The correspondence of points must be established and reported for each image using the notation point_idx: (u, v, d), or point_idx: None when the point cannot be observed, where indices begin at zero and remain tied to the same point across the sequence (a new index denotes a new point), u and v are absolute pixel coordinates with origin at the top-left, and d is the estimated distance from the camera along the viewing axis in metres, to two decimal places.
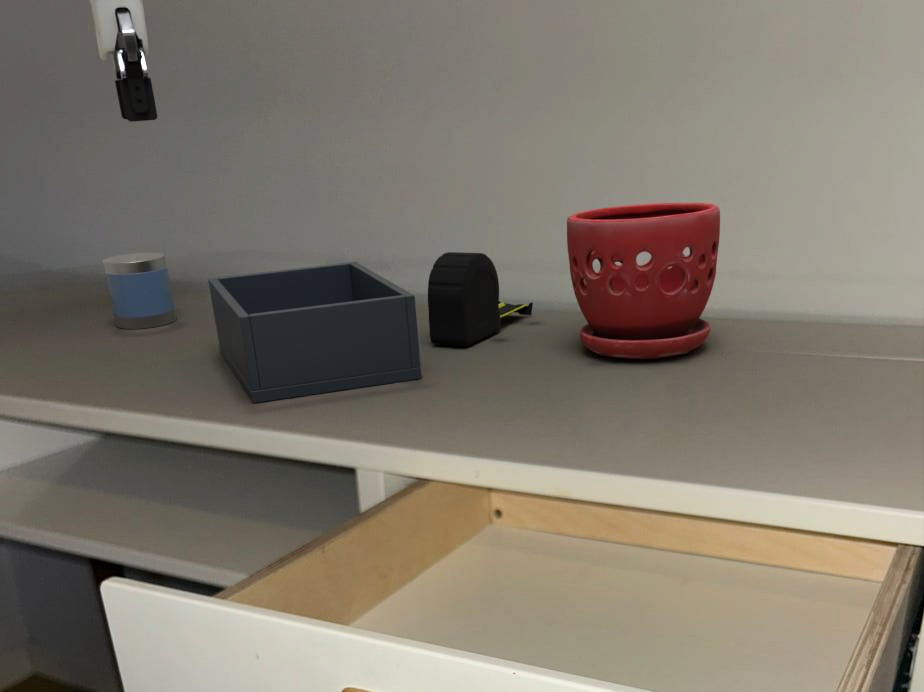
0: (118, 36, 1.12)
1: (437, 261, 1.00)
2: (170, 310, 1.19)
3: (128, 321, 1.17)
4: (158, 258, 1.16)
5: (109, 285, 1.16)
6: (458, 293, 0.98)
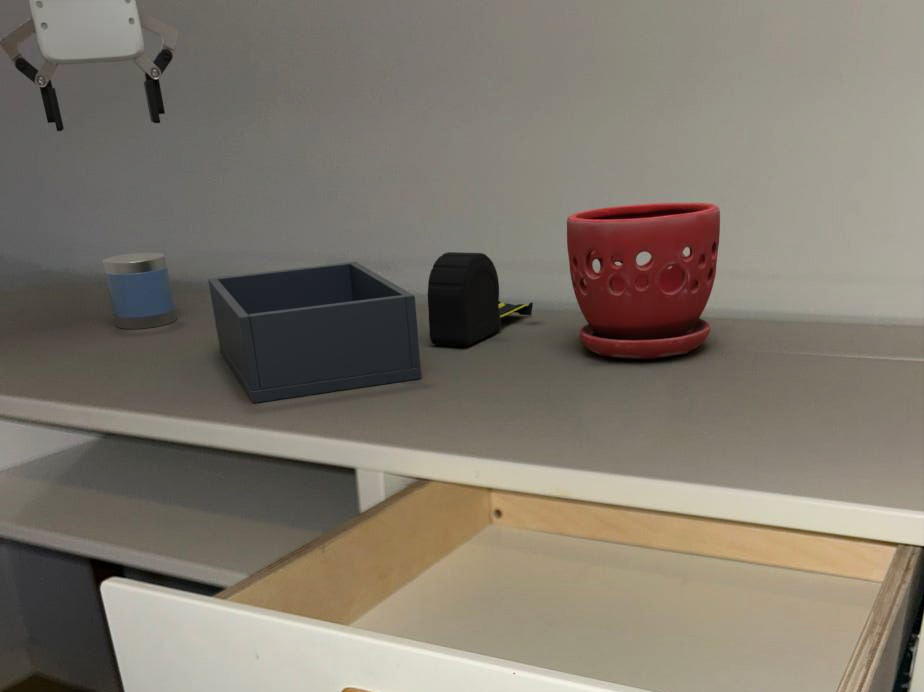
0: None
1: (437, 261, 1.00)
2: (170, 310, 1.19)
3: (128, 321, 1.17)
4: (158, 258, 1.16)
5: (109, 285, 1.16)
6: (458, 293, 0.98)
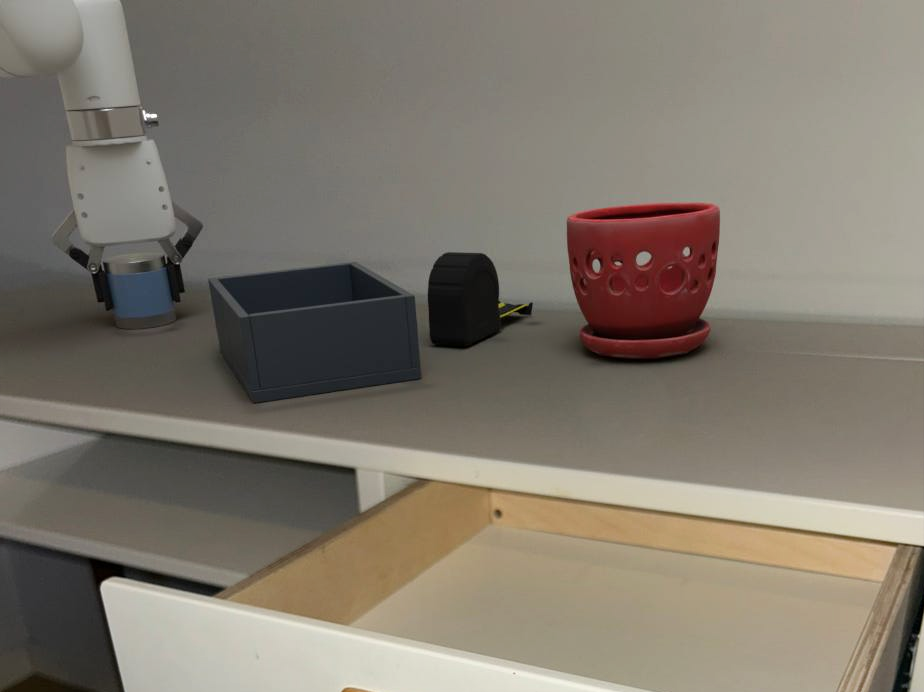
0: None
1: (437, 261, 1.00)
2: (170, 310, 1.19)
3: (128, 321, 1.17)
4: (158, 258, 1.16)
5: (109, 285, 1.16)
6: (458, 293, 0.98)
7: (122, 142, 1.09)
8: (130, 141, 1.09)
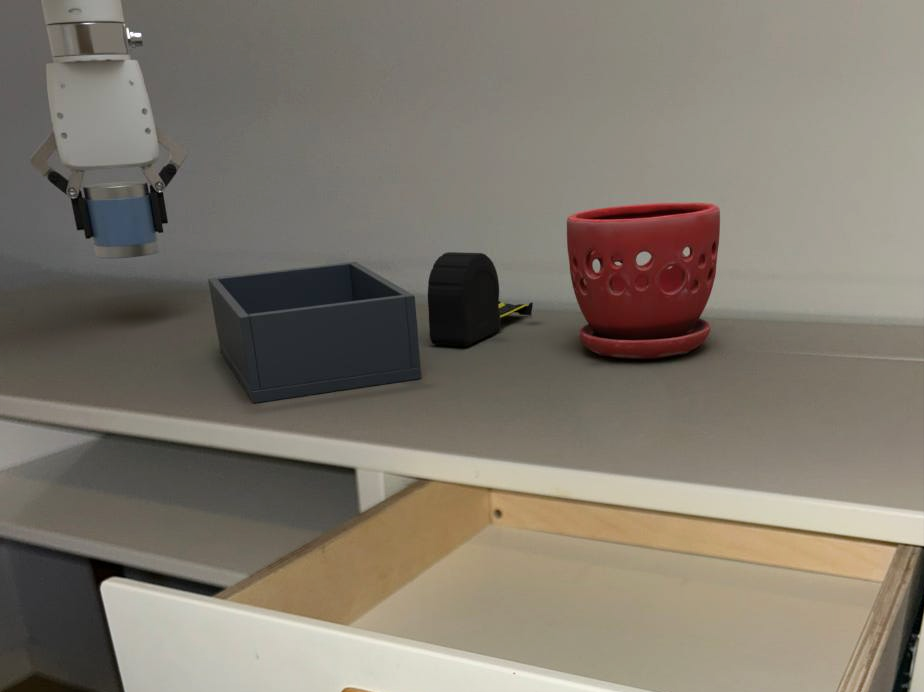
0: None
1: (437, 261, 1.00)
2: (152, 240, 1.15)
3: (108, 249, 1.13)
4: (140, 185, 1.12)
5: (89, 212, 1.13)
6: (458, 293, 0.98)
7: (104, 59, 1.05)
8: (112, 58, 1.06)
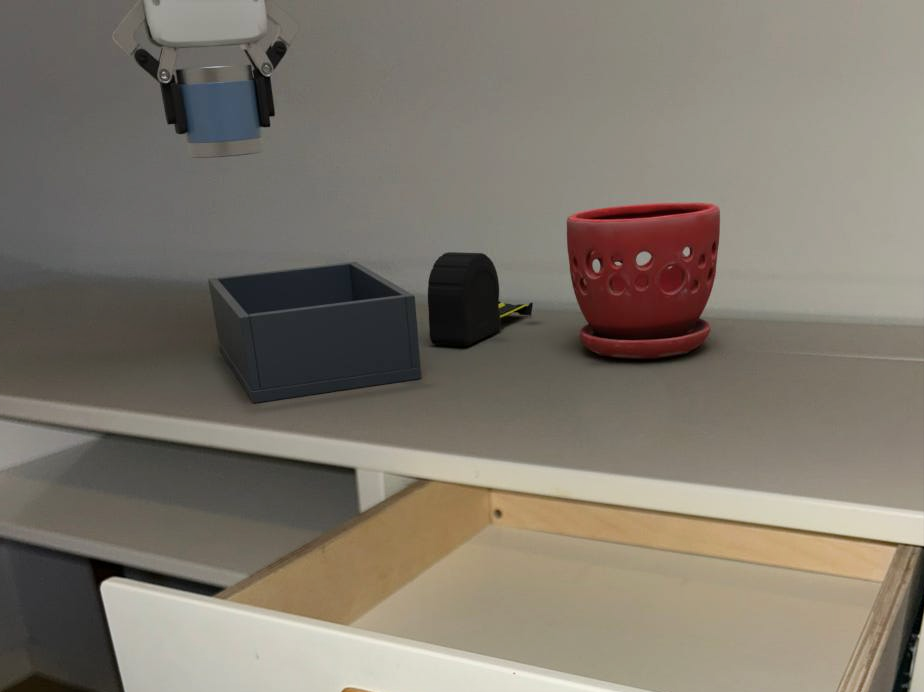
0: None
1: (437, 261, 1.00)
2: (257, 136, 0.96)
3: (207, 146, 0.94)
4: (245, 65, 0.93)
5: (183, 100, 0.93)
6: (458, 293, 0.98)
7: None
8: None
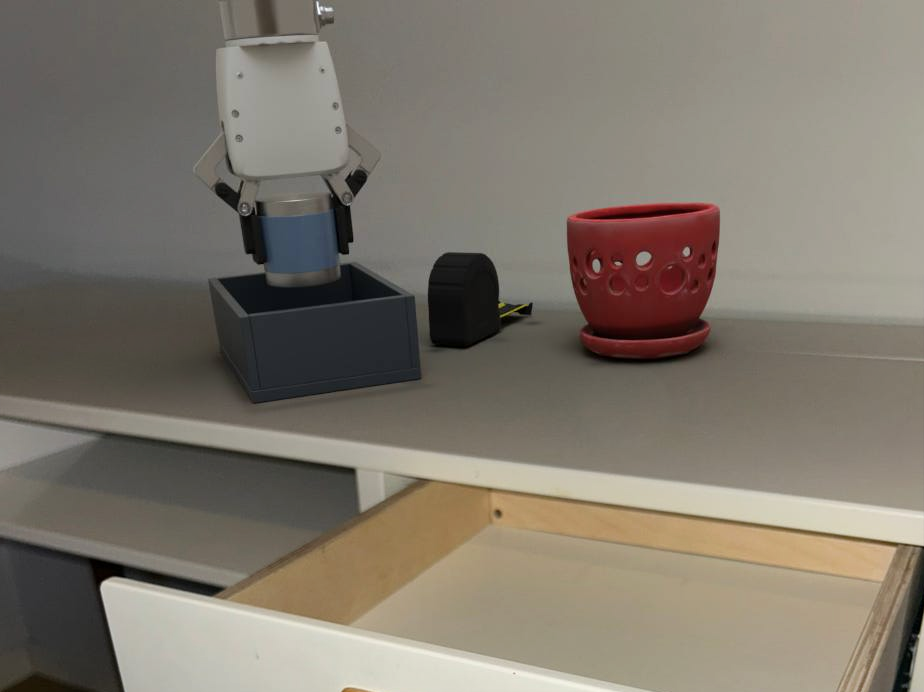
0: None
1: (437, 261, 1.00)
2: (336, 264, 0.94)
3: (286, 277, 0.92)
4: (326, 196, 0.91)
5: (263, 231, 0.91)
6: (458, 293, 0.98)
7: (293, 40, 0.84)
8: (303, 40, 0.84)
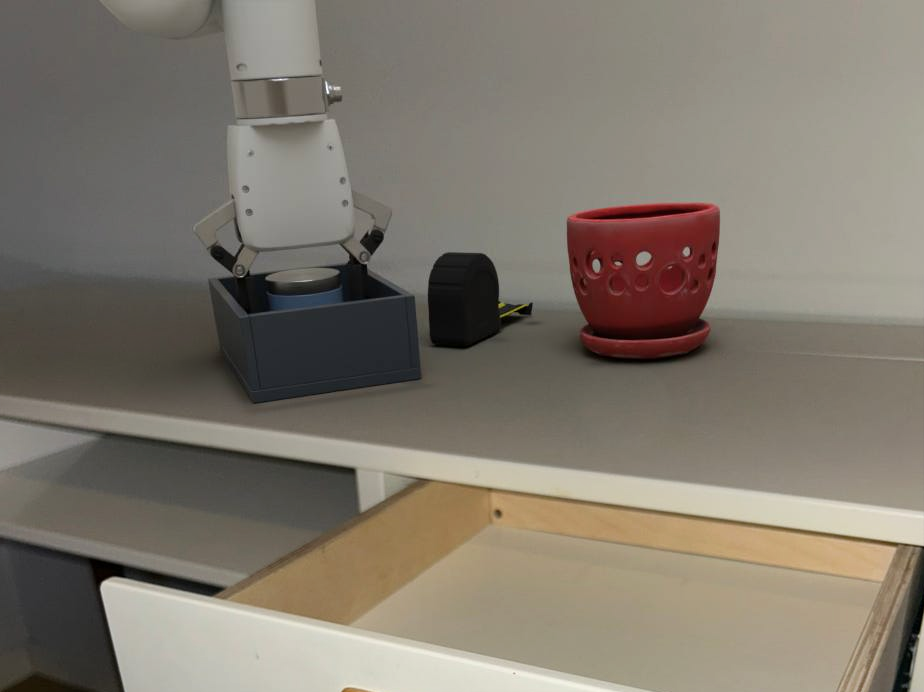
0: None
1: (437, 261, 1.00)
2: None
3: None
4: (335, 275, 0.94)
5: (274, 309, 0.94)
6: (458, 293, 0.98)
7: (303, 121, 0.86)
8: (312, 120, 0.87)
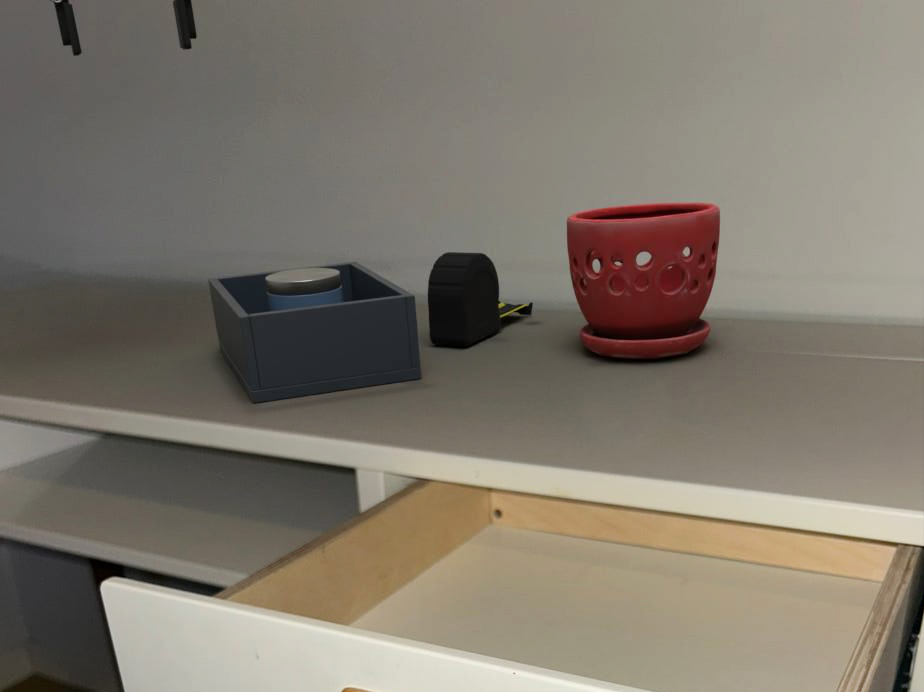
0: None
1: (437, 261, 1.00)
2: None
3: None
4: (335, 275, 0.94)
5: (274, 309, 0.94)
6: (458, 293, 0.98)
7: None
8: None
